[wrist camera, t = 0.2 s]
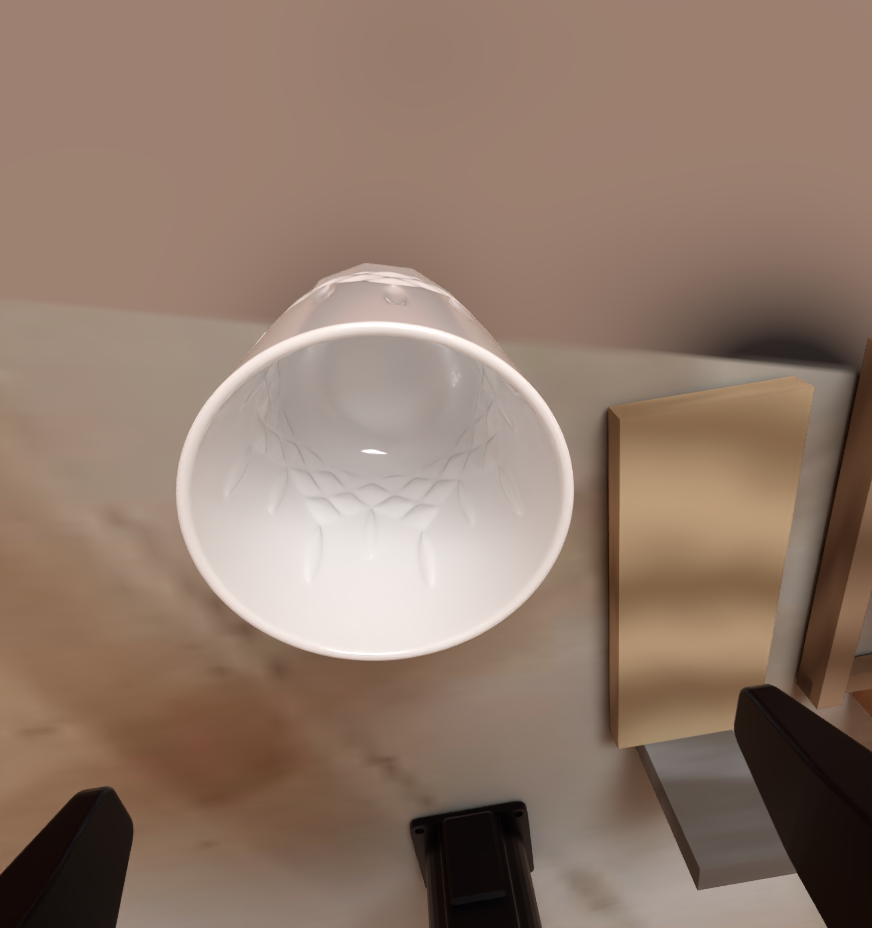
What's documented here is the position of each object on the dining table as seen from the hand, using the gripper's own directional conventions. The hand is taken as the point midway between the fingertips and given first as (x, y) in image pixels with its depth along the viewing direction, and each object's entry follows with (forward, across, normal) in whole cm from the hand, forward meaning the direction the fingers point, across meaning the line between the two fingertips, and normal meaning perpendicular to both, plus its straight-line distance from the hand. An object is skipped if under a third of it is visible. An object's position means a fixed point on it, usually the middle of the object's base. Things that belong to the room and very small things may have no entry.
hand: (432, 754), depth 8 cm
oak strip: (+14, -11, +10) cm, 21 cm away
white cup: (+15, 0, -1) cm, 15 cm away
